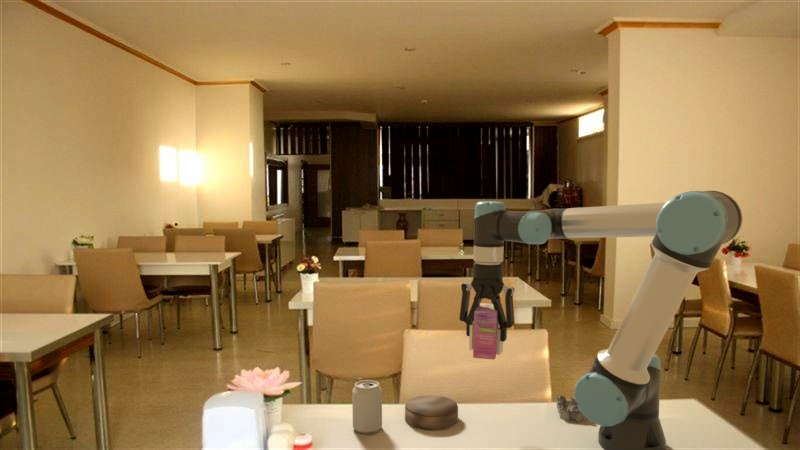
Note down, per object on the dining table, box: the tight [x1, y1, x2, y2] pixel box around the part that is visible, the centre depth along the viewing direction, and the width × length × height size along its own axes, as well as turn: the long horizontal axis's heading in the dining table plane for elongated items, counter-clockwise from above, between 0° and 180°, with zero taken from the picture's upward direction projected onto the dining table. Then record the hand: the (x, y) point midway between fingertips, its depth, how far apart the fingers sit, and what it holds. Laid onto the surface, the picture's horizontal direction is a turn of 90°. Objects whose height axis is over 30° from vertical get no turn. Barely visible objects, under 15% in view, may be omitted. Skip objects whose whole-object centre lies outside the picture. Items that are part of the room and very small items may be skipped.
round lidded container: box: [404, 394, 459, 432], centre depth 160 cm, size 14×14×4 cm
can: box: [351, 379, 383, 435], centre depth 154 cm, size 8×8×12 cm
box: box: [472, 302, 500, 360], centre depth 155 cm, size 10×6×12 cm, turn 167°
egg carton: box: [556, 392, 587, 421], centre depth 164 cm, size 11×8×4 cm
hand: (485, 350), depth 156 cm, fingers closed on box, 7 cm apart
